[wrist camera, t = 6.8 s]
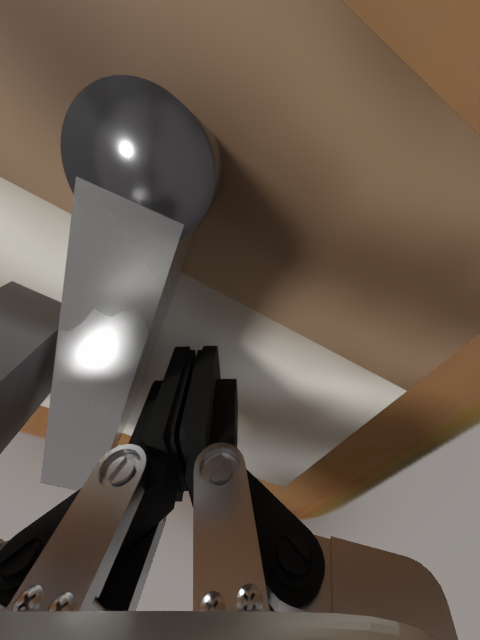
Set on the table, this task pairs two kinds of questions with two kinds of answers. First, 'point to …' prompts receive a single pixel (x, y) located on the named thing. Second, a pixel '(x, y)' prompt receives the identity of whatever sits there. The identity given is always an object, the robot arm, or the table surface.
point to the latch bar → (120, 256)
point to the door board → (255, 210)
